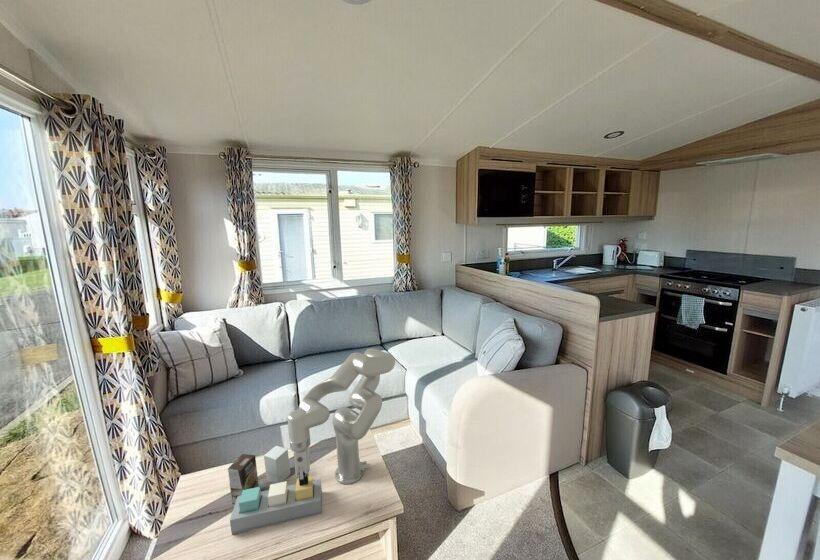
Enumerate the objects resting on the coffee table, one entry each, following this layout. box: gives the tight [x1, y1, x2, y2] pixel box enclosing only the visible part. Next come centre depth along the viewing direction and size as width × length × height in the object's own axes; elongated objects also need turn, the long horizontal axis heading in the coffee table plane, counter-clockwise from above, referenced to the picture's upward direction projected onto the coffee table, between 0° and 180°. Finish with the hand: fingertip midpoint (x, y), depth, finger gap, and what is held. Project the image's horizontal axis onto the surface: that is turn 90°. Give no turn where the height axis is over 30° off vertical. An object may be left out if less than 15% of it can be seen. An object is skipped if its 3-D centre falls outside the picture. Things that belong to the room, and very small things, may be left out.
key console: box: [229, 478, 323, 535], centre depth 128 cm, size 32×11×6 cm, turn 104°
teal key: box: [239, 486, 261, 514], centre depth 125 cm, size 6×6×7 cm
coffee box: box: [227, 453, 260, 504], centre depth 136 cm, size 9×6×16 cm
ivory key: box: [268, 481, 288, 507], centre depth 128 cm, size 6×6×7 cm
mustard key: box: [295, 475, 314, 501], centre depth 130 cm, size 6×6×7 cm
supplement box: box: [263, 445, 291, 484], centre depth 146 cm, size 7×7×13 cm
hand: (303, 483), depth 129 cm, fingers closed
